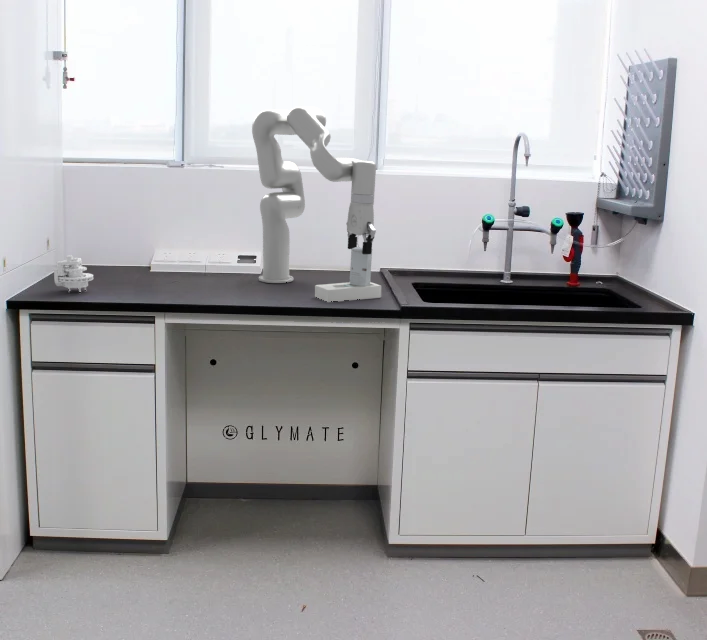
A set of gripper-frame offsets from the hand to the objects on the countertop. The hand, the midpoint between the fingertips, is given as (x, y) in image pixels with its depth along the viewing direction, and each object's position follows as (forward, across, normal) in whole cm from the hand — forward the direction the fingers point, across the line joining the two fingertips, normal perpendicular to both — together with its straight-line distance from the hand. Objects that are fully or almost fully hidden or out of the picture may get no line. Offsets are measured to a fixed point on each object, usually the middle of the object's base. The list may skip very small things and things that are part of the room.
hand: (359, 251), depth 261 cm
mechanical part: (+18, -41, -83) cm, 94 cm away
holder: (+15, +1, -4) cm, 16 cm away
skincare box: (+11, +1, 0) cm, 11 cm away
